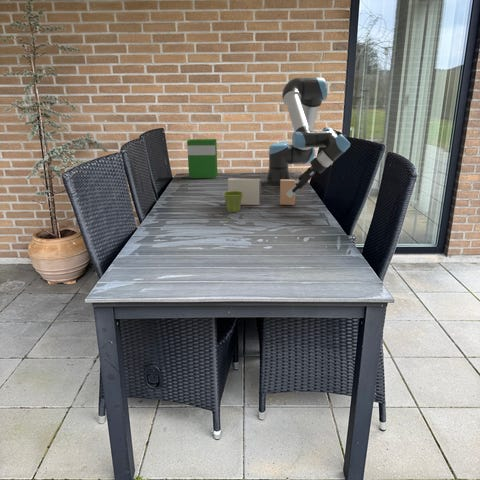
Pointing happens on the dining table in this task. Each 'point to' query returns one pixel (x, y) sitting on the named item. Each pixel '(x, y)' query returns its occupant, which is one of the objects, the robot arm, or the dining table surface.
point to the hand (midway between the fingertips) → (288, 192)
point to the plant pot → (233, 200)
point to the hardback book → (202, 158)
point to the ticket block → (247, 190)
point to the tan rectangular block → (284, 188)
